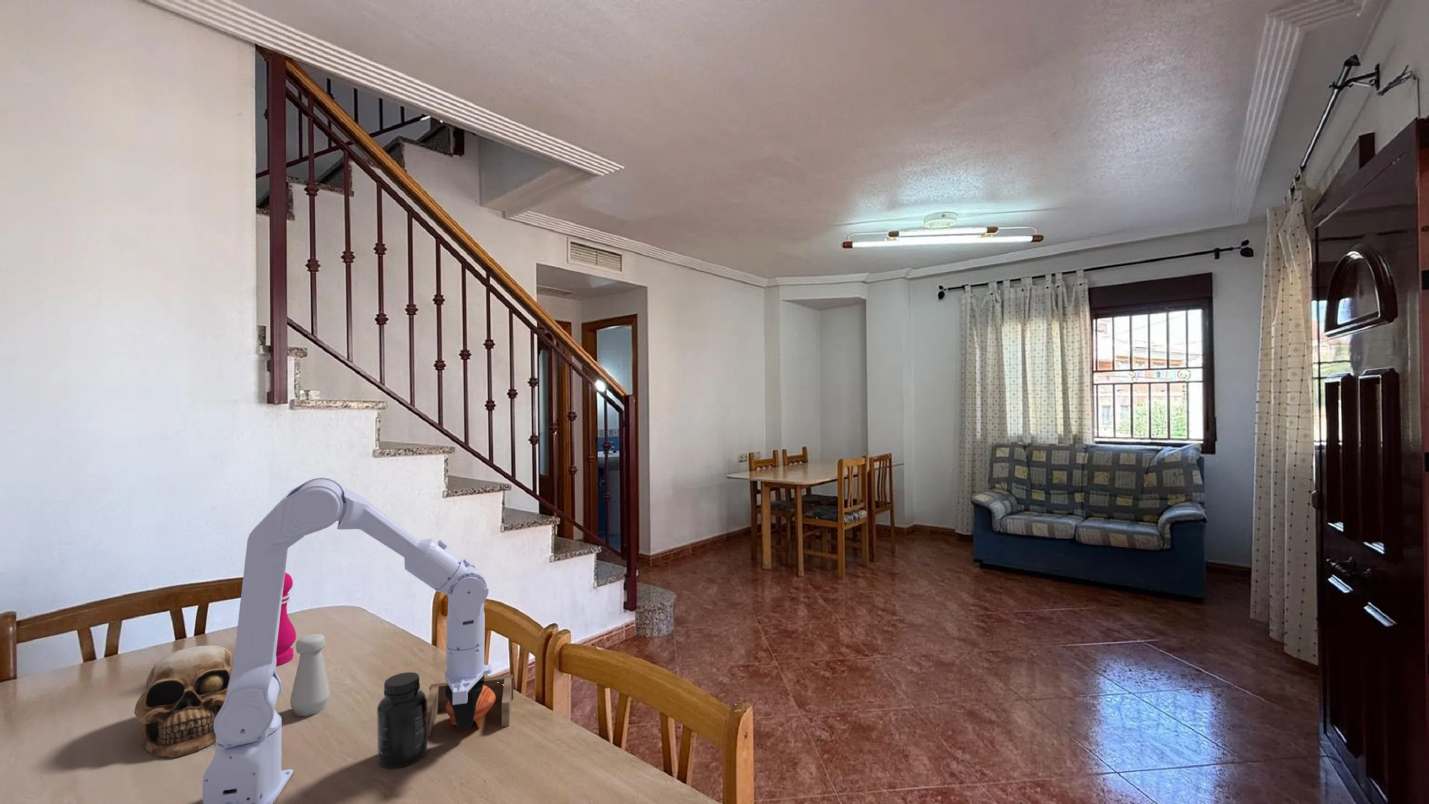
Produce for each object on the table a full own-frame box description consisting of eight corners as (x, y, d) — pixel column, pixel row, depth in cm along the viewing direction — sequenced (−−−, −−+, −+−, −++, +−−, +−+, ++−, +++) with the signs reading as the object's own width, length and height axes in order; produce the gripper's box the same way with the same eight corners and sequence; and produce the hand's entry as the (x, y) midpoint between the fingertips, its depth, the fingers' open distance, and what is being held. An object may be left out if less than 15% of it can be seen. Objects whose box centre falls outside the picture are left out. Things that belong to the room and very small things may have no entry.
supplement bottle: (415, 738, 96) (415, 664, 96) (435, 754, 92) (435, 677, 92) (369, 757, 91) (369, 679, 91) (388, 776, 87) (388, 694, 86)
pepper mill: (258, 657, 125) (258, 562, 125) (299, 651, 128) (299, 558, 128) (248, 671, 118) (248, 571, 118) (291, 665, 121) (292, 567, 121)
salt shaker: (309, 721, 101) (309, 645, 101) (281, 717, 102) (281, 641, 102) (337, 703, 107) (338, 631, 106) (310, 700, 108) (311, 628, 108)
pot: (508, 716, 102) (500, 681, 101) (466, 746, 96) (457, 710, 95) (483, 699, 107) (476, 666, 106) (442, 727, 101) (433, 693, 100)
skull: (179, 760, 89) (176, 670, 90) (97, 755, 94) (94, 669, 94) (279, 711, 105) (275, 634, 105) (204, 708, 109) (201, 634, 109)
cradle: (510, 725, 100) (511, 701, 100) (419, 738, 96) (419, 713, 96) (513, 696, 110) (513, 674, 110) (430, 706, 106) (430, 684, 106)
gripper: (488, 659, 90) (487, 747, 90) (495, 623, 104) (494, 700, 104) (437, 664, 88) (437, 755, 88) (451, 628, 102) (451, 706, 102)
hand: (465, 726), depth 96 cm, fingers closed
